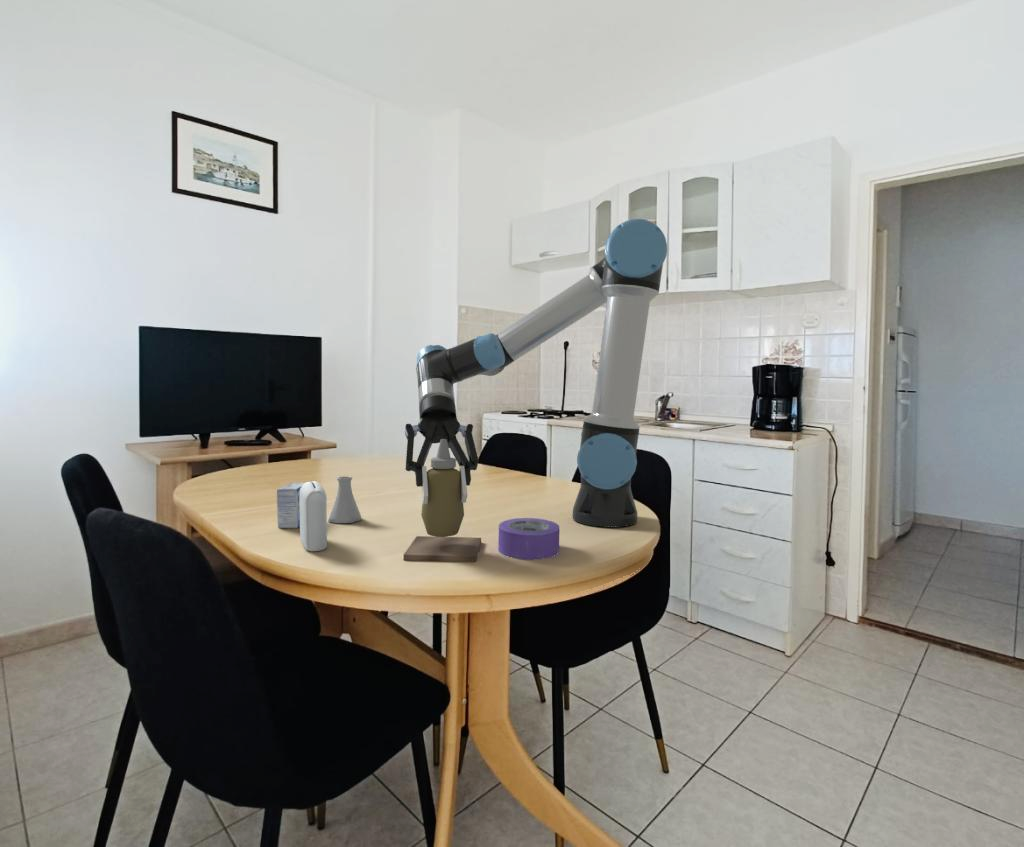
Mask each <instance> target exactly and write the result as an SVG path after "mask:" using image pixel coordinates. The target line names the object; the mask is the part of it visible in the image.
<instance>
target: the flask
mask: <svg viewBox="0 0 1024 847" xmlns="http://www.w3.org/2000/svg"><path fill="white" fill-rule="evenodd" d="M336 479H337V481H338V487H337V488H338V490H337V494H336V496H335V501H334V504H333V506H332V509H331V512H330V515H329V518H328V519H327V523H329V522H330V523H334V524H352V523H356V522H359V521H360V520H361V519H362V515H361V512H360V510H359V507H358V505H357V502H356V500H355V497H354V493H353V490H352V486H351V485H352V480H353V476H348V475H347V476H345V475H344V476H343V475H342V476H338V477H336Z"/></svg>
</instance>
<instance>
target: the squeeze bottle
mask: <svg viewBox="0 0 1024 847" xmlns="http://www.w3.org/2000/svg"><path fill="white" fill-rule="evenodd" d="M438 444H439V445H438V449H437V454H436V457H432V458H431V459H430V467H431V468H430V469H428V470H427V485H428V501H427V504H423V503H422V505H421V513H420V514H421V518H422V521H423V524H424V527H425V531H426V534H427V535H429V536H430V537H454V536H456V535H458V534H459V531H460V528H461V526H462V522H463V519H464V517H465V508H464V503H462V500H461V473H460V472H459V469H456V467H457V461H456V459H455V457H451V453H450V448H449V447H448V443H447V439H441V440H440V443H438Z"/></svg>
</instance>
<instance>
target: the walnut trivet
mask: <svg viewBox="0 0 1024 847" xmlns="http://www.w3.org/2000/svg"><path fill="white" fill-rule="evenodd" d="M481 545H482V537H470V536H469V537H467V536H464V537H462V536H460V537H459V536H448V537H436V536H431V535H429V536H427V535H426V536H420V535H417V536H416V537H415V538H414V540H413V541H412V542H411V543H410V545H409V546H408V548H407V549H406V551H405V552H404V553H403V561H421V562H422V561H424V562H427V561H428V562H429V561H430V562H464V563H465V562H466V563H467V562H468V563H469V562H470V563H476V562H477V558H478V554H479V552H480V549H481Z"/></svg>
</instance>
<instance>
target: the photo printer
mask: <svg viewBox="0 0 1024 847" xmlns="http://www.w3.org/2000/svg"><path fill="white" fill-rule="evenodd" d="M304 483H305V484H303V485H302V487H301V489H300V493H299V494H300V527H299V537H300V542H301V544H302V546H303V547H304V550H306V551H309V552H320V551H324V550H325V549H327V547H328V533H327V532H328V531H327V530H328V528H327V527H328V526H327V525H328V524H327V523H328V518H327V517H328V516H327V513H328V512H327V506H328V505H327V492H326V491H325V488H324V487H323V485H322V484H320V483H319V482H318V481H316V480H313V481H307V482H304Z"/></svg>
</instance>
